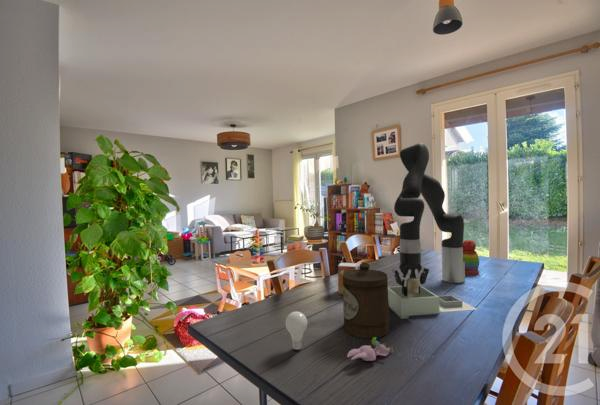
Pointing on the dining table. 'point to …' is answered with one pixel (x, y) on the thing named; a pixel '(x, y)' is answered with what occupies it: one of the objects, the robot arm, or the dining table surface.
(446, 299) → the socket
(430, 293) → the bin
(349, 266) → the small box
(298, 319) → the lightbulb
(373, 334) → the wooden container
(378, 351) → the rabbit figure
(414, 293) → the strut
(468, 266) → the stacking bear
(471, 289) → the dining table surface
